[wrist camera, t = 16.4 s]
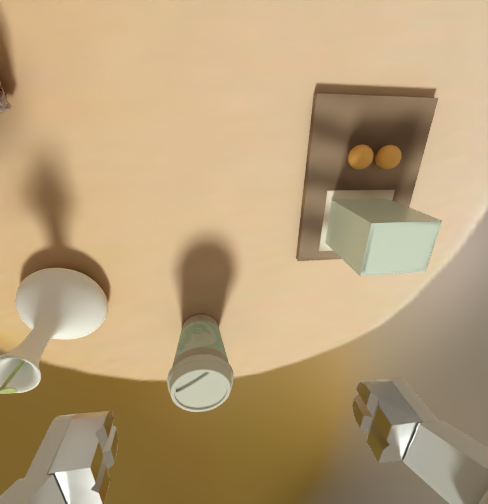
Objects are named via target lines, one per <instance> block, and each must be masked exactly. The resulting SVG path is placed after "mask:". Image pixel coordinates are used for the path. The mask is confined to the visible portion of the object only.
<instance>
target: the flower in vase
mask: <svg viewBox="0 0 488 504" xmlns="http://www.w3.org/2000/svg"><path fill="white" fill-rule="evenodd" d="M15 301H16V309H17V311H18V314H19V315H20V317H21V319H22V320H23V321H24V322H25V324H26V325H27V326H28V327H30V328H31V329H32V331H31V332H30V334H29V335H28V336H27V337H26V339H25V340H24V341H23V342H22V343H21V344H20V345H19V346H18V347H16V348H15V349H14V350H12V351H11V352H9V353H7V354H5V355H1V356H0V394H8V393H21V392H26V391H29V390H31V389H33V388H35V387H36V386H37V385H38V384H39V382H40V379H41V372H40V370H39V361H40V358H41V355H42V353H43V351H44V349H45V347H46V346H47V344H48V343H49V341H50V340H51V339H52V338H54V339H76V338H80V337H84V336H86V335H88V334H90V333H92V332H93V331H95V330H96V329H97V328H99V327H100V326H101V325H102V323H103V322H104V321H105V319H106V317H107V313H108V301H107V298H106V295H105V293H104V292H103V290H102V289H101V287H100V286H99V285H98V284H97V283H96V282H95V281H94V280H92V279H91V278H90V277H88V276H87V275H85V274H83V273H80V272H78V271H75V270H71V269H65V268H47V269H42V270H39V271H36V272H34V273H32V274H30V275H29V276H27V277H26V278H25V279H24V280H23V281H22V282H21V284H20V286H19V287H18V290H17V294H16V300H15Z"/></svg>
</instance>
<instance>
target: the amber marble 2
mask: <svg viewBox="0 0 488 504" xmlns="http://www.w3.org/2000/svg"><path fill="white" fill-rule="evenodd" d="M400 160H401V151H400V149H399V148H398V147H396V146H394V145H386V146H384V147H382V148H381V149H379V150H378V152H377V154H376V156H375V161H376V164H377V166H378V167H380V168H381V169H385V170H388V169H392V168H394V167H396V166H397V165H398V164H399V162H400Z"/></svg>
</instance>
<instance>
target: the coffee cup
mask: <svg viewBox="0 0 488 504" xmlns="http://www.w3.org/2000/svg"><path fill="white" fill-rule="evenodd" d="M167 383H168V390H169V392H170V394H171V398H172V400H173V402H174V403H175V404H176V405H177V406H179V407H180V408H182V409H184V410H187V411H192V412H202V411H208V410H211V409H214V408H216V407H218V406H219V405H221V404H222V403H223V402H224V401H225V400H226V399H227V398H228V396H229V394H230V390H231V387H232V384H233V370H232V368H231V366H230V365H229V363H228V359H227V356H226V352H225V348H224V345H223V341H222V338H221V334H220V331H219V327H218V324H217V322H216V320H215V319H214V318H212V317H210V316H208V315H203V314H199V315H194V316H192V317H190V318H188V319H187V320H186V321H185V322H184V324H183V327H182V331H181V335H180V339H179V343H178V347H177V351H176V355H175V359H174V363H173V367H172V369H171V370H170V372H169V374H168V378H167Z"/></svg>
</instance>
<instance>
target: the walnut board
mask: <svg viewBox="0 0 488 504" xmlns="http://www.w3.org/2000/svg"><path fill="white" fill-rule="evenodd" d="M437 101H438V98H426V97H401V96H376V95H351V94H326V93H315V94H314V97H313V107H312V116H311V125H310V135H309V144H308V153H307V162H306V172H305V181H304V190H303V200H302V209H301V218H300V228H299V237H298V246H297V255H296V259H297V260H298V261H309V260H330V259H342V258H341V257H339V256H338V255H337V254H336V253H335V252H334V251H333V250H332V249H331V248H330V247H329V246H328V245H327V244H326V243H325V240H326V233H327V226H328V219H329V213H330V206H331V200H354V199H389V200H392V201H394V202H396V203H399V204H401V205H404V206H406V207H409V205H410V202H411V198H412V194H413V190H414V187H415V183H416V179H417V175H418V172H419V168H420V164H421V160H422V157H423V153H424V149H425V145H426V142H427V138H428V134H429V131H430V127H431V123H432V119H433V116H434V112H435V108H436V104H437ZM357 145H367V146H369V147H370V148H371V149H372V151H373V154H374V157H373V161H372V163H371V164H370V165H369V166H368V167H366V168H364V169H361V170H358V169H354V168H352V167H351V166H350V164H349V162H348V155H349V152H350V151H351V149H352V148H354V147H355V146H357ZM386 145H394V146H396V147H398V148H399V149H400V151H401V160H400V162H399V164H398V165H397V166H396V167H394V168H392V169H388V170H385V169H381V168H380V167H378V166H377V164H376V161H375V156H376V154H377V152H378V150H379V149H381V148H382V147H384V146H386Z"/></svg>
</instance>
